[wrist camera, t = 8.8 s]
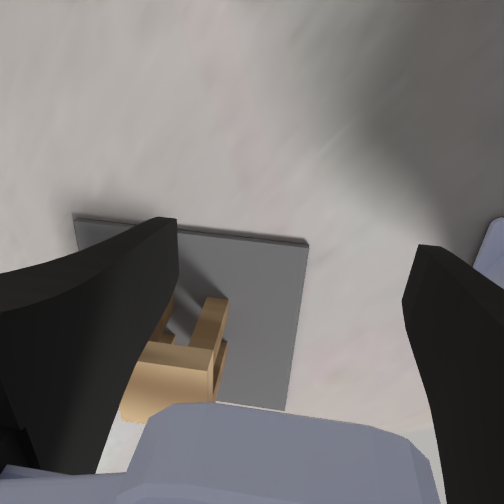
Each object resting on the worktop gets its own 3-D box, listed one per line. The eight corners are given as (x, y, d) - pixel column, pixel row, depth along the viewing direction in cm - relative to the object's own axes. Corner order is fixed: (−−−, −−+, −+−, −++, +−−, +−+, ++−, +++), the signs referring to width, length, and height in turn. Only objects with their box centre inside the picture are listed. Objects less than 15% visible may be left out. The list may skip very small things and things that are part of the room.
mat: (309, 244, 23) (308, 248, 23) (284, 406, 30) (284, 411, 30) (76, 218, 24) (73, 221, 24) (106, 379, 31) (104, 383, 31)
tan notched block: (226, 357, 28) (207, 433, 23) (157, 347, 28) (121, 420, 23) (228, 299, 25) (206, 371, 20) (151, 289, 26) (111, 357, 20)
